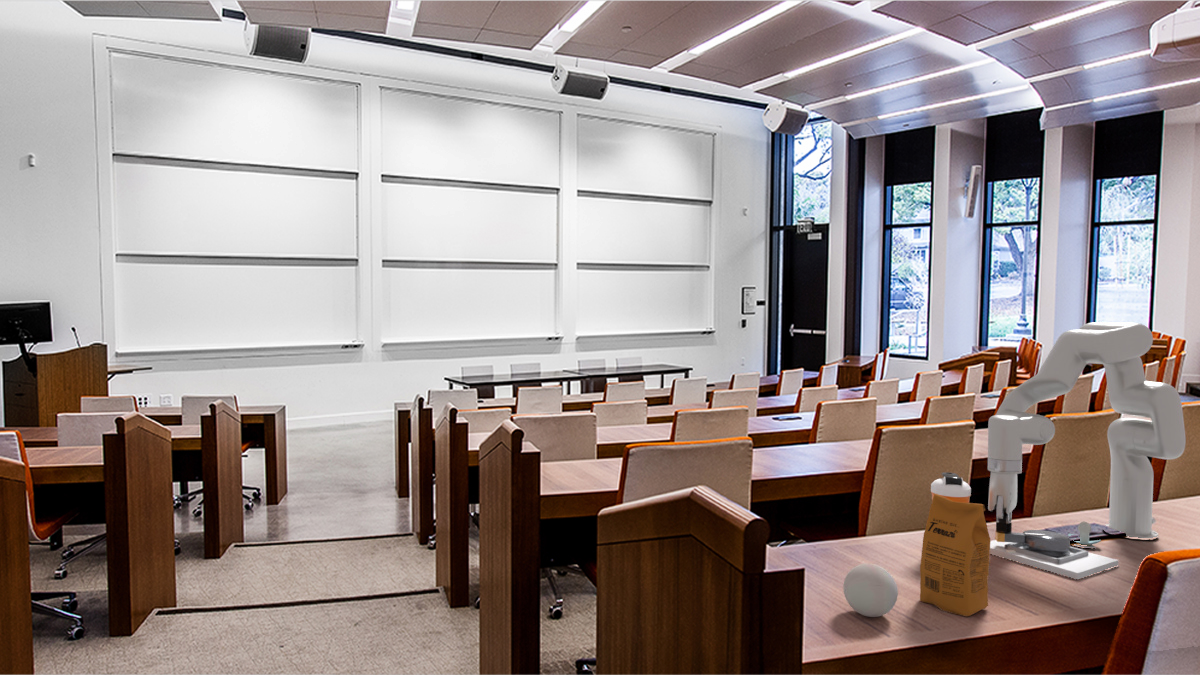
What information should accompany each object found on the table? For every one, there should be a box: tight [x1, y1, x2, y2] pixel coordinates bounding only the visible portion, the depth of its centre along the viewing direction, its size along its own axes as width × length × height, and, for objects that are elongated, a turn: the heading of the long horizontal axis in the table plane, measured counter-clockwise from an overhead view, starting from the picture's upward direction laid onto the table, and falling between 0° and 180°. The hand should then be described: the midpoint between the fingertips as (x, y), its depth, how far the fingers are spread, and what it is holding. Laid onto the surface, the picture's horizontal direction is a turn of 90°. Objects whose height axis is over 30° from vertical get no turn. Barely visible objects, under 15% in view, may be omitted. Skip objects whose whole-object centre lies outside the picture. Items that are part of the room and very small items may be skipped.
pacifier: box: [1067, 521, 1102, 549], centre depth 196 cm, size 7×6×6 cm
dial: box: [994, 529, 1071, 558], centre depth 187 cm, size 16×10×4 cm, turn 76°
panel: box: [989, 539, 1120, 580], centre depth 186 cm, size 18×24×3 cm
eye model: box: [842, 563, 899, 618], centre depth 150 cm, size 10×10×10 cm
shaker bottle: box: [930, 471, 972, 503], centre depth 187 cm, size 9×9×20 cm
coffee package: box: [919, 494, 991, 617], centre depth 155 cm, size 10×12×22 cm
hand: (1003, 537), depth 191 cm, fingers closed
